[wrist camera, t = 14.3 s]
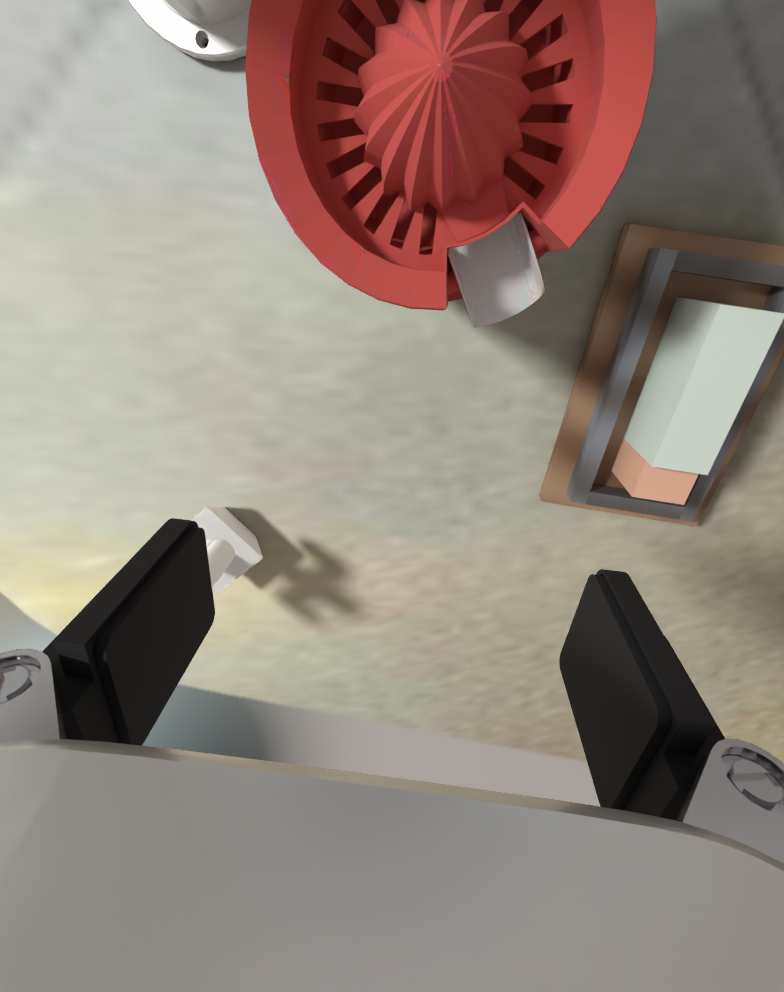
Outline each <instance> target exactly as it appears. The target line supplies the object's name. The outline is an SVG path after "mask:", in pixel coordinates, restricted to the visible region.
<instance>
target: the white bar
mask: <svg viewBox="0 0 784 992" xmlns="http://www.w3.org/2000/svg"><path fill="white" fill-rule="evenodd" d="M783 319H784V313H778V312H772V311H765V310H759V309H753V308H747V307H741V306H734V305H728V304H721V303H714V302H707V301H701V300H694V299H687V298H680V297H677V299H676V302H675V304H674V307H673V309H672V312H671V315H670V317H669V320H668V323H667V325H666V328H665V330H664V333H663V336H662V338H661V341H660V344H659V346H658V349H657V352H656V354H655V357H654V359H653V362H652V365H651V367H650V370H649V373H648V375H647V378H646V381H645V383H644V386H643V388H642V391H641V394H640V396H639V399H638V402H637V404H636V407H635V410H634V412H633V415H632V417H631V420H630V423H629V425H628V428H627V431H626V433H625V436H624V439H623V441H622V444H621V446H620V449H619V452H618V454H617V457H616V460H615V462H614V465H613V468H612V470H611V471H612V472H613V473H614V475H615V476H616V477H617V479H618V480H619V481H620V482H621V484H622V485H623V486H624V487H625V489H626V490H627V491H628V492H629V494H630V495H631V496H632V497H637V498H643V499H649V500H656V501H662V502H668V503H675V504H681V505H684V504H685V502H686V500H687V498H688V495H689V493H690V491H691V489H692V487H693V485H694V483H695V481H696V479H697V477H698V474H703V475H708V473H709V471H710V469H711V467H712V465H713V463H714V461H715V459H716V457H717V455H718V453H719V451H720V449H721V447H722V444H723V442H724V440H725V438H726V436H727V434H728V432H729V430H730V428H731V426H732V424H733V422H734V420H735V418H736V416H737V414H738V412H739V409H740V407H741V405H742V403H743V401H744V399H745V397H746V395H747V393H748V391H749V389H750V387H751V385H752V383H753V381H754V379H755V377H756V375H757V372H758V370H759V368H760V366H761V364H762V362H763V360H764V358H765V356H766V354H767V352H768V350H769V348H770V346H771V344H772V342H773V340H774V337H775V335H776V333H777V331H778V329H779V327H780V325H781V323H782V321H783Z"/></svg>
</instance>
